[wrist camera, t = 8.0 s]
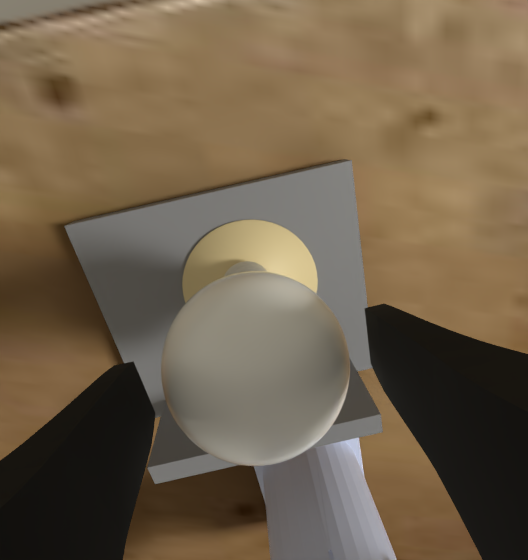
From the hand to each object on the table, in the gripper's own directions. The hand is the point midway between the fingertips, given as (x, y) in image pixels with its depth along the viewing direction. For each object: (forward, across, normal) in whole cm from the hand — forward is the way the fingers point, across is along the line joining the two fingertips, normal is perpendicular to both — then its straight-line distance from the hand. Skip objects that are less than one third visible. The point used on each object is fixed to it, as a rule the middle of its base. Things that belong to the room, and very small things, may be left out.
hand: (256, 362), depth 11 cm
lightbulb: (+9, 0, +1) cm, 9 cm away
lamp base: (+10, +1, +2) cm, 11 cm away
